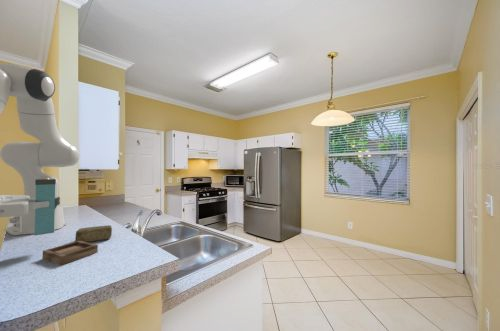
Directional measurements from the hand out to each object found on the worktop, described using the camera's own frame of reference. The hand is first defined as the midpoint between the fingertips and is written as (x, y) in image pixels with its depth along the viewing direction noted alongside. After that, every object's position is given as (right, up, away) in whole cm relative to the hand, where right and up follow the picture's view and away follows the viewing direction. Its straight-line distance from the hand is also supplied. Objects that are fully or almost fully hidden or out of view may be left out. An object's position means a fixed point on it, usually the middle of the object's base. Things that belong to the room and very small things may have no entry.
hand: (48, 202), depth 72 cm
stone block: (+7, -17, +11) cm, 22 cm away
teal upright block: (-1, -10, -1) cm, 10 cm away
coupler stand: (+11, -16, -4) cm, 20 cm away
